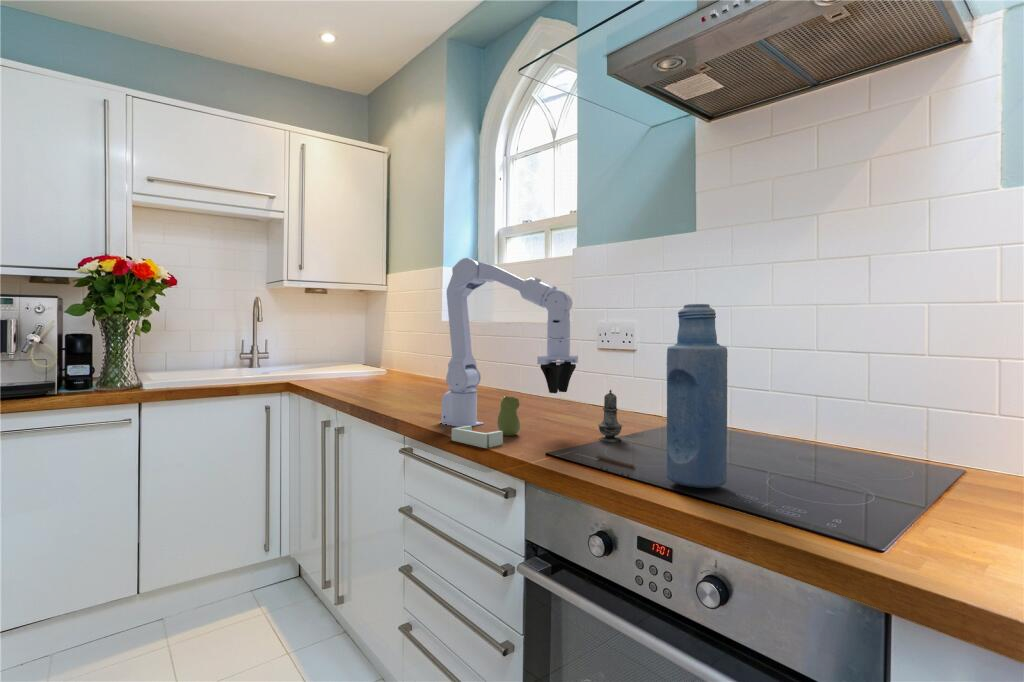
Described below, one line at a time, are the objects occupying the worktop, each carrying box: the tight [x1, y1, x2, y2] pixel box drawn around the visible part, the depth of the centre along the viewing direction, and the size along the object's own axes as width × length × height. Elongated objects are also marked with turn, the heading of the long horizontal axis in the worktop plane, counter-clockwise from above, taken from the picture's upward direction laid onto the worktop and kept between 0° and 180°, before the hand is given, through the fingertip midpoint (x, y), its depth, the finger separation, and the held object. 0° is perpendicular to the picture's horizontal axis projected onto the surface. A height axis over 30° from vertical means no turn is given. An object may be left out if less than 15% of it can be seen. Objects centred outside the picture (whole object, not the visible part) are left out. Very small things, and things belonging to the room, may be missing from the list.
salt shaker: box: [597, 389, 623, 443], centre depth 127 cm, size 6×6×12 cm
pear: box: [497, 395, 521, 437], centre depth 130 cm, size 6×5×10 cm
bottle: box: [666, 303, 729, 489], centre depth 91 cm, size 10×10×30 cm
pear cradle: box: [451, 426, 504, 449], centre depth 122 cm, size 11×6×3 cm, turn 49°
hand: (558, 392), depth 135 cm, fingers open, 3 cm apart
